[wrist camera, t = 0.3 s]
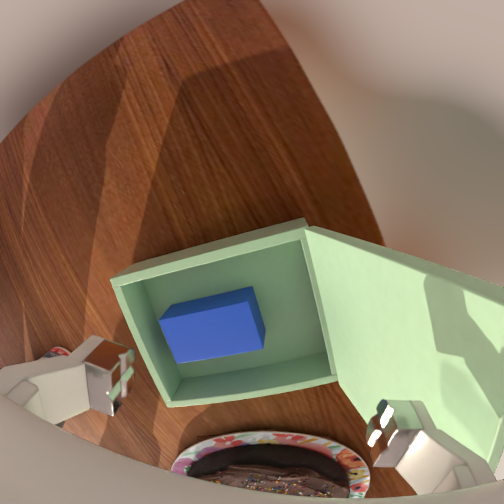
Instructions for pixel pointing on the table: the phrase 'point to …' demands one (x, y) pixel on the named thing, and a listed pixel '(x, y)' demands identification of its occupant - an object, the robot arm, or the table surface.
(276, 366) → the box
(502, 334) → the lunchbox lid
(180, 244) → the table surface
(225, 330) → the block
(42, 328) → the table surface
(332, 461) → the chocolate cake
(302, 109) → the table surface
